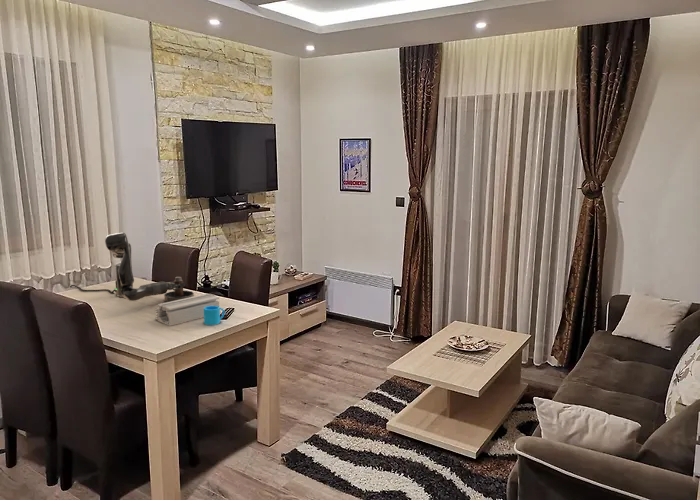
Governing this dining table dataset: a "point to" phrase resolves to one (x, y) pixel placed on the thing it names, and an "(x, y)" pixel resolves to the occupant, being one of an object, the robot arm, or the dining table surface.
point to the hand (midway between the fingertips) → (182, 283)
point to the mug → (212, 315)
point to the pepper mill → (180, 291)
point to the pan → (171, 297)
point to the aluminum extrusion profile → (185, 309)
